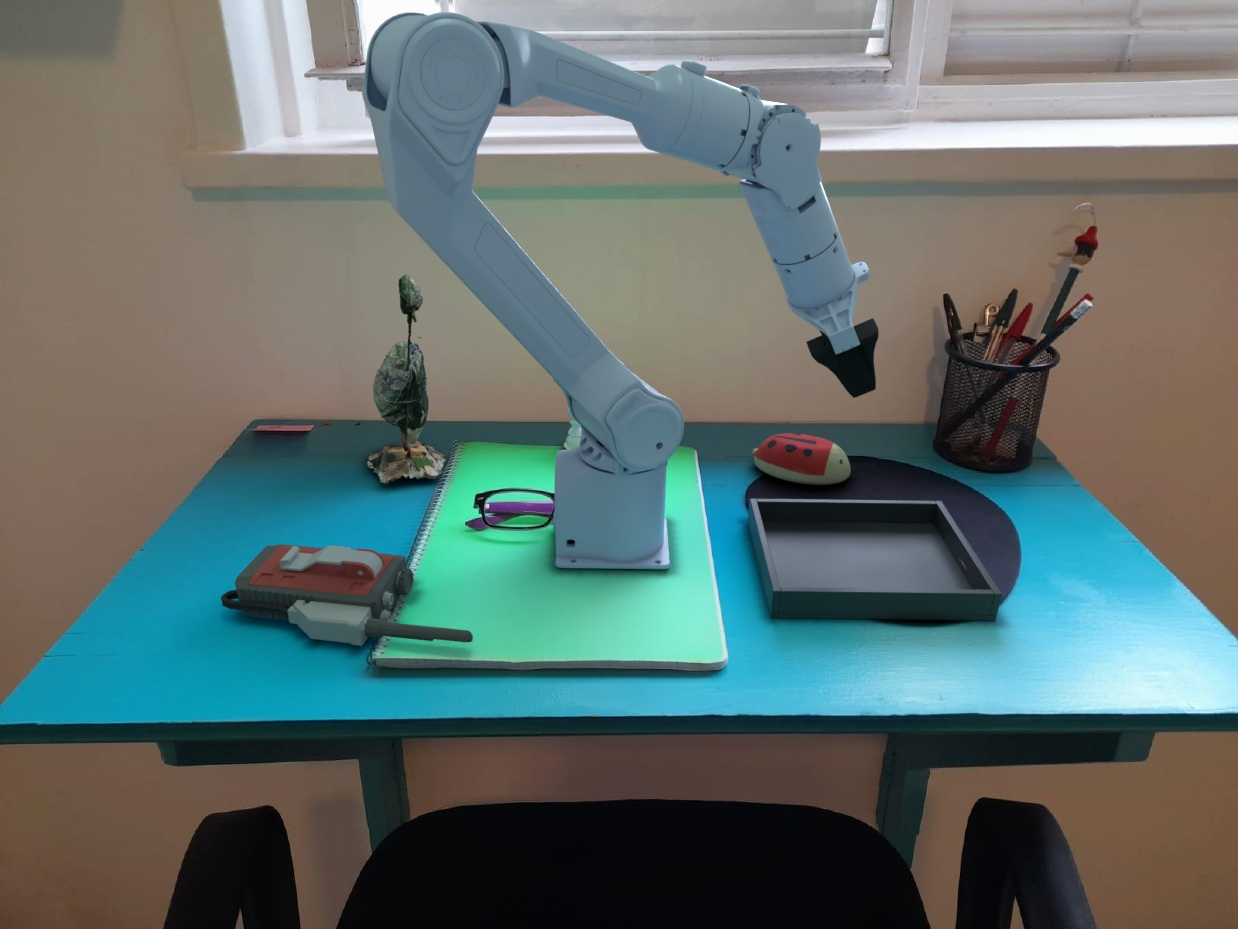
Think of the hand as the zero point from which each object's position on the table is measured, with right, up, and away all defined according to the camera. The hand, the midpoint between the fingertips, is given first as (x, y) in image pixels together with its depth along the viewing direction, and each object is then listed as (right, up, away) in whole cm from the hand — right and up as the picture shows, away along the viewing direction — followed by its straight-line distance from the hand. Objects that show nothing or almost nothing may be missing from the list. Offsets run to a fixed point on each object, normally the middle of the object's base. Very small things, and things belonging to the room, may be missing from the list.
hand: (853, 366), depth 78 cm
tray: (-1, -17, -6) cm, 18 cm away
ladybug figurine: (-3, -10, +10) cm, 14 cm away
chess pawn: (-31, -13, +3) cm, 34 cm away
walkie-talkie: (-41, -20, -12) cm, 47 cm away
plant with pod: (-43, -9, +11) cm, 45 cm away
